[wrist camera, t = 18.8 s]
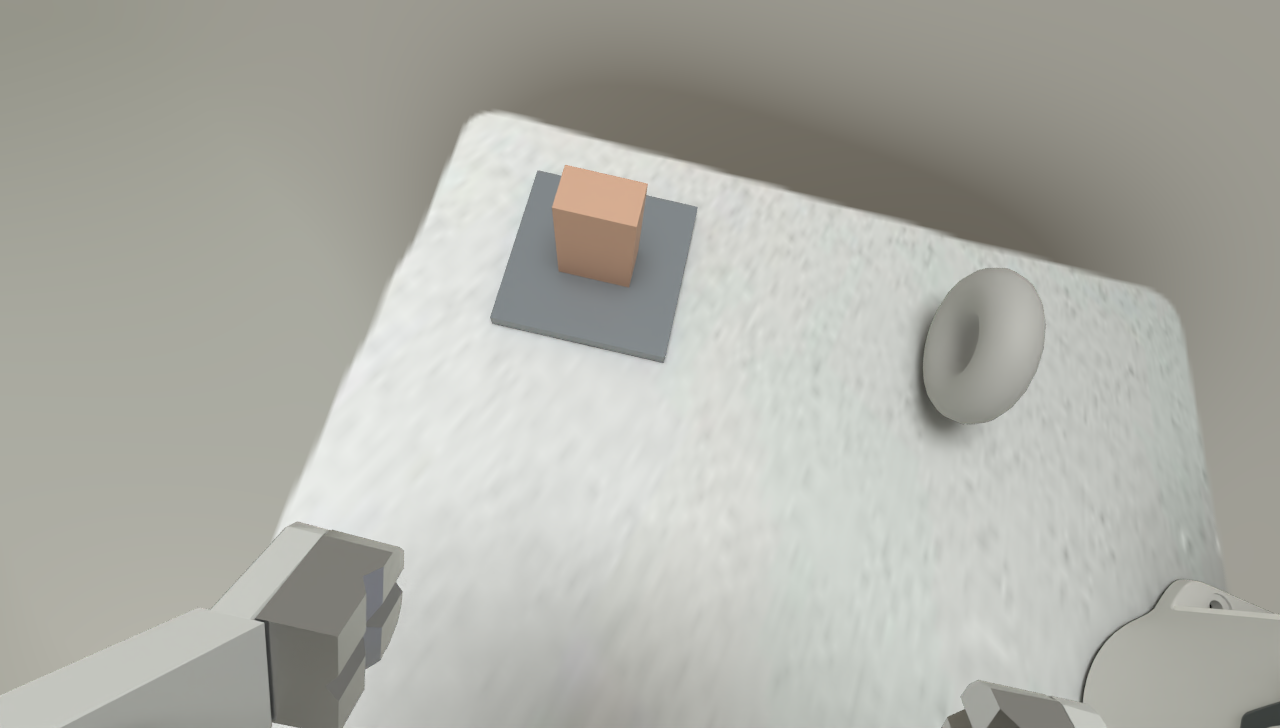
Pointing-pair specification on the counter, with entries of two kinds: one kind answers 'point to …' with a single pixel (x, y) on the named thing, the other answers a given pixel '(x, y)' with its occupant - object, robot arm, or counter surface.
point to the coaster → (596, 281)
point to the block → (598, 225)
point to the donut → (984, 346)
